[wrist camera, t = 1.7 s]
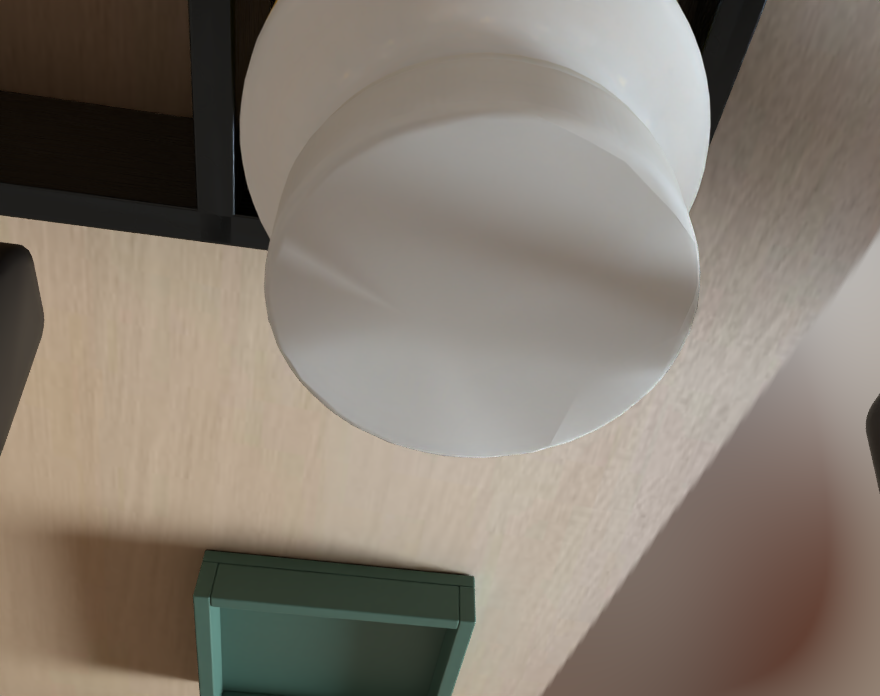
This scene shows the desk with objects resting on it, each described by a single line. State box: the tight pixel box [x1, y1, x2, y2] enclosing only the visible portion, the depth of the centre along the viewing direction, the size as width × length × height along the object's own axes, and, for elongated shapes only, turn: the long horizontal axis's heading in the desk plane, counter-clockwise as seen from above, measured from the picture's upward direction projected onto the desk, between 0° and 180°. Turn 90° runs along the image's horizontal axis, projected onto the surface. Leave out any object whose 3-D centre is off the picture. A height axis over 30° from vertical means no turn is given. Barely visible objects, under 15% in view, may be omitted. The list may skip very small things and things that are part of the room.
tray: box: [193, 550, 476, 696], centre depth 34 cm, size 10×10×2 cm
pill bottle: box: [240, 0, 710, 458], centre depth 13 cm, size 6×6×12 cm
